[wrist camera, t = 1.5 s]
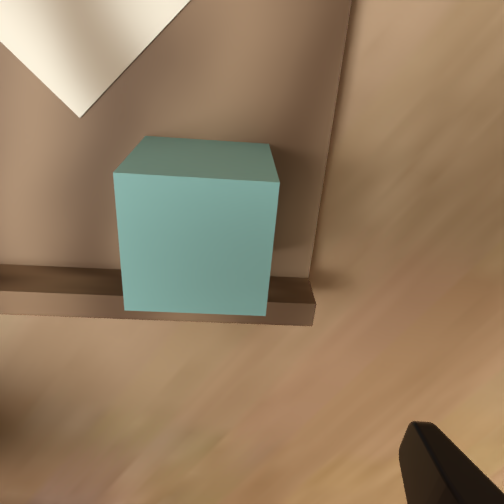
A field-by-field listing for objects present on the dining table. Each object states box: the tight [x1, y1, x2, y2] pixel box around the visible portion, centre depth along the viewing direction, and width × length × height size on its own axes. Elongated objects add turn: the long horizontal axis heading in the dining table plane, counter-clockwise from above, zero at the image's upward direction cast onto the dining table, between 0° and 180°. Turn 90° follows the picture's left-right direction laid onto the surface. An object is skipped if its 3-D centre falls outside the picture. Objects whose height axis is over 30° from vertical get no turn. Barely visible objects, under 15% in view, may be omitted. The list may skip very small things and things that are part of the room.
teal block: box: [113, 136, 280, 316], centre depth 16 cm, size 5×5×5 cm
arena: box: [0, 0, 352, 326], centre depth 15 cm, size 18×18×3 cm
